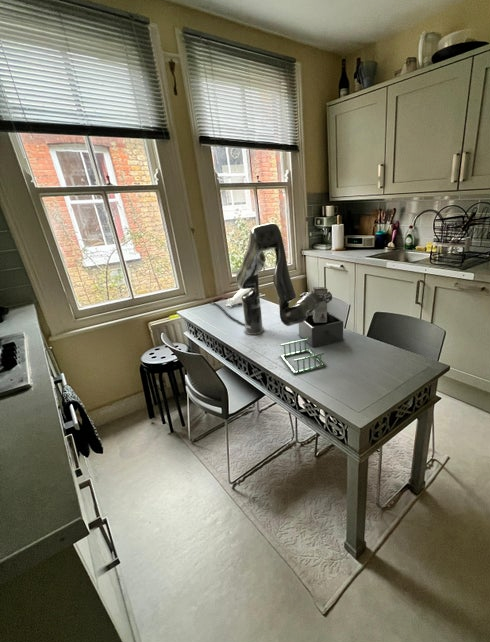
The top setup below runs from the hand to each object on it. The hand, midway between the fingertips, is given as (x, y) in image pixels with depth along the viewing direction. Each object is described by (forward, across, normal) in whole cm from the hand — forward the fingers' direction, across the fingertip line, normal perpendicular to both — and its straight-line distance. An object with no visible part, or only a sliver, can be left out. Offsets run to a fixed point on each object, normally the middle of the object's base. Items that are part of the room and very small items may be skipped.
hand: (320, 293), depth 151 cm
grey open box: (-2, 0, +23) cm, 23 cm away
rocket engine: (+35, +73, +22) cm, 84 cm away
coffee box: (-2, 0, +14) cm, 14 cm away
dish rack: (-28, -1, +23) cm, 36 cm away
